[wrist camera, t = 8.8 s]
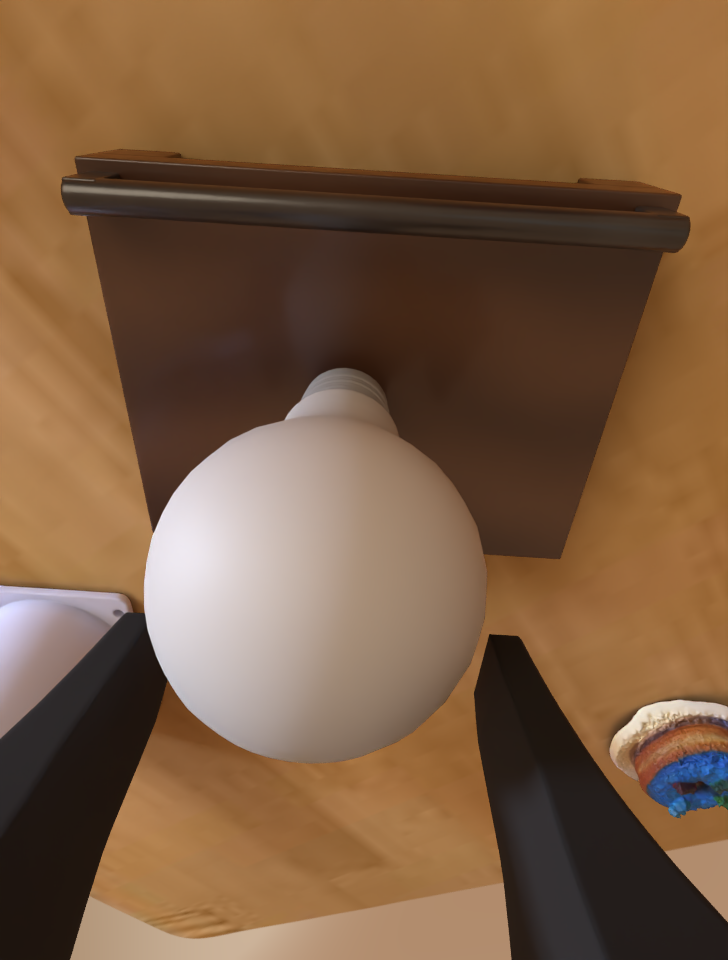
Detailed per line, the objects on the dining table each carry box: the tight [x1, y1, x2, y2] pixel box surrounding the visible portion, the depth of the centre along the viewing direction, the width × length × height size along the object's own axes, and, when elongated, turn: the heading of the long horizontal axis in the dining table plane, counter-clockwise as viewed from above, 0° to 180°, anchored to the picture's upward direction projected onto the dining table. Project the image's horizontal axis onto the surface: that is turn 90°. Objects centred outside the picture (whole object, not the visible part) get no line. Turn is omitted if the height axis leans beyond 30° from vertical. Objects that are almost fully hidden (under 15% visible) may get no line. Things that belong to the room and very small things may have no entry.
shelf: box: [61, 149, 690, 559], centre depth 17 cm, size 12×15×4 cm
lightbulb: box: [144, 368, 487, 763], centre depth 12 cm, size 6×6×11 cm
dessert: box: [609, 700, 728, 818], centre depth 30 cm, size 8×7×6 cm
